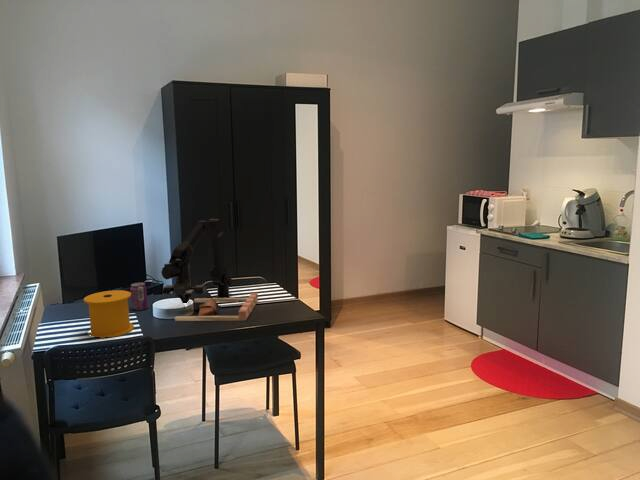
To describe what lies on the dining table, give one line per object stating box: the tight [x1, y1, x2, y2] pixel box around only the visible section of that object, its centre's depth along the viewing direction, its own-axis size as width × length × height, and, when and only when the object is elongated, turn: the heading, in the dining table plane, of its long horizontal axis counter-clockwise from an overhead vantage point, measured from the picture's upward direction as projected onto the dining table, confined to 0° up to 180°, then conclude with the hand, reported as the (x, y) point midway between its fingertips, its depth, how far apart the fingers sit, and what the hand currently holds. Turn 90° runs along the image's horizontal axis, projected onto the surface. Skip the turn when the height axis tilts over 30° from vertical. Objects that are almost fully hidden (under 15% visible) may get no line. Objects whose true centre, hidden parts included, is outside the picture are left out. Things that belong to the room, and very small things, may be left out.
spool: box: [83, 289, 135, 339], centre depth 214 cm, size 18×18×15 cm
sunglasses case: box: [197, 297, 218, 316], centre depth 240 cm, size 18×7×7 cm, turn 13°
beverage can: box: [129, 282, 149, 311], centre depth 244 cm, size 7×7×12 cm
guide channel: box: [174, 292, 259, 322], centre depth 240 cm, size 30×31×4 cm
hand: (185, 307), depth 241 cm, fingers closed
